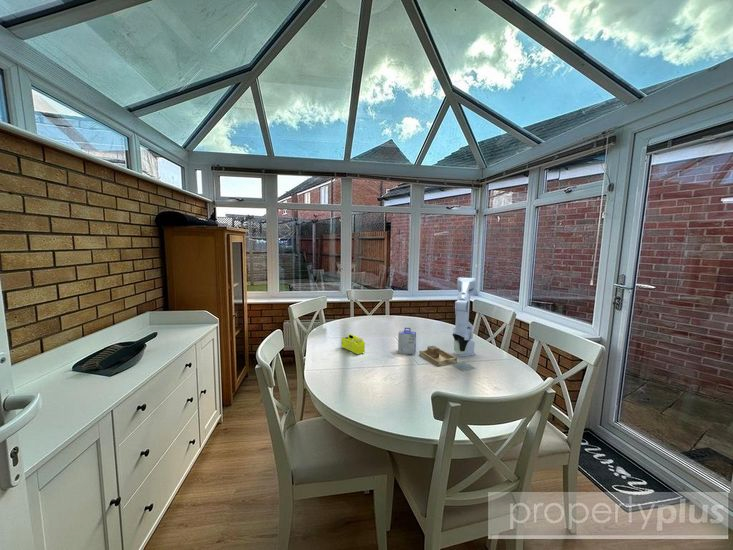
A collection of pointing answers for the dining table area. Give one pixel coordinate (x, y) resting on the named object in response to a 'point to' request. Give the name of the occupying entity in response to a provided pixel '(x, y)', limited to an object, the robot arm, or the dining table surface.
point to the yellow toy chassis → (353, 344)
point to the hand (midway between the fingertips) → (460, 349)
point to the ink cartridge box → (407, 341)
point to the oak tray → (439, 358)
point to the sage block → (458, 348)
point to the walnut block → (433, 351)
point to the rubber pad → (463, 366)
